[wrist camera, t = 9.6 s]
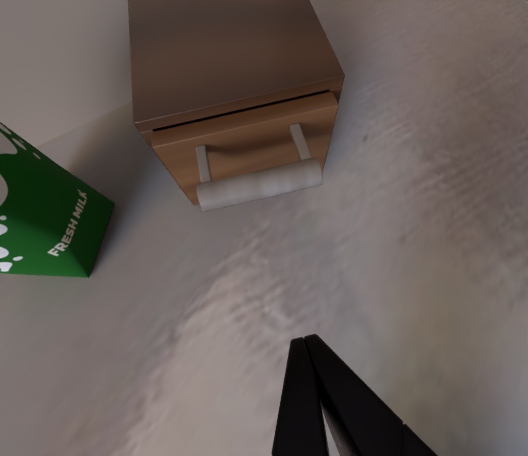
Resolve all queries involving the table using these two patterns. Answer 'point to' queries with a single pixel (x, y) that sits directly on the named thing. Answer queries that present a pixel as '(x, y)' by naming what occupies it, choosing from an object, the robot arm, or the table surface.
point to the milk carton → (46, 214)
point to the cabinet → (223, 58)
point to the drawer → (250, 150)
